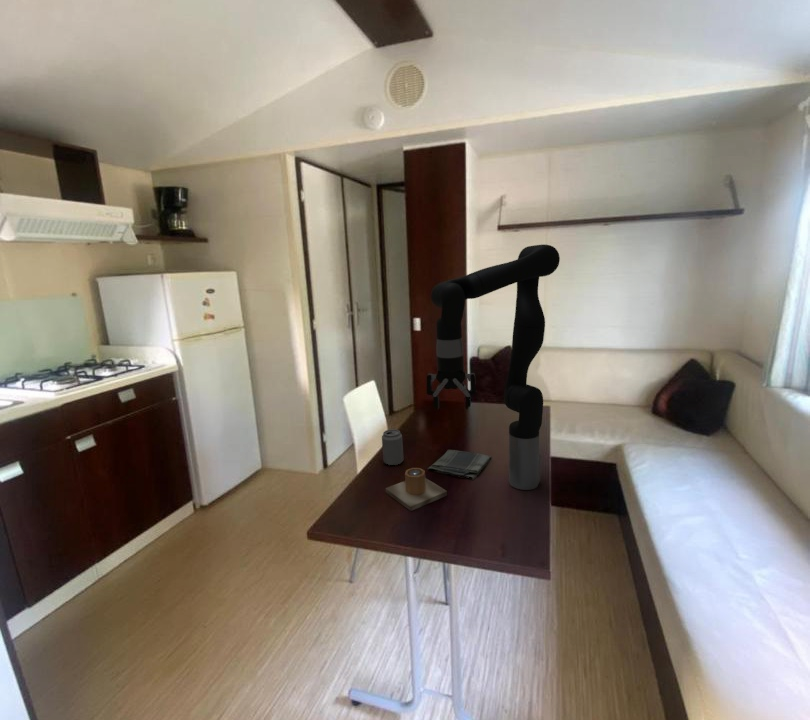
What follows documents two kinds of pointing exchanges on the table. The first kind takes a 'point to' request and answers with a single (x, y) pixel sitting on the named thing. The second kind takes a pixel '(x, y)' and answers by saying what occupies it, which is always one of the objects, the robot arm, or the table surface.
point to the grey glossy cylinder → (414, 473)
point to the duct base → (416, 501)
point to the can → (392, 447)
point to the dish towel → (460, 464)
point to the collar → (415, 482)
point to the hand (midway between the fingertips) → (452, 408)
